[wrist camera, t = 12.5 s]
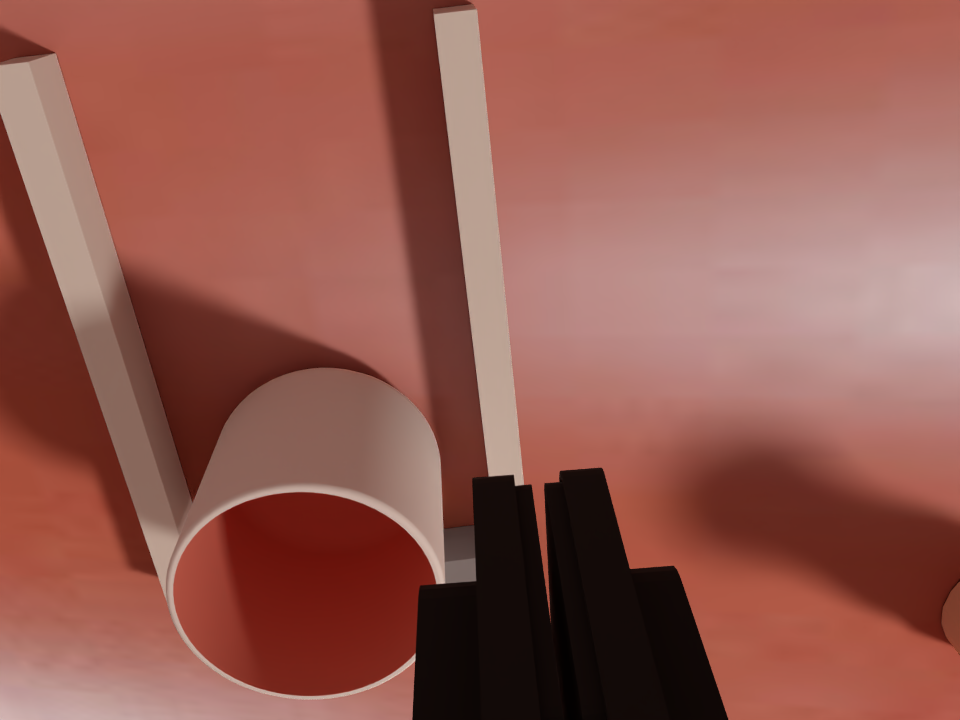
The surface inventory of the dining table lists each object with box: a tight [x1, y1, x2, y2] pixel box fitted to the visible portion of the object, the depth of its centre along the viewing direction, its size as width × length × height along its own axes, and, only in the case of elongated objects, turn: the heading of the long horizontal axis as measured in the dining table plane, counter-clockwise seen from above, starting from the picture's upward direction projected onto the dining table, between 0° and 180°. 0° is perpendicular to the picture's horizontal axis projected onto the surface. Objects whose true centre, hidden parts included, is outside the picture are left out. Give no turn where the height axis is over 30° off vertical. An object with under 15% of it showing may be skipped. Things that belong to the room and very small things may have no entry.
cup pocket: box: [0, 4, 524, 601], centre depth 37 cm, size 25×17×2 cm
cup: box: [166, 368, 445, 699], centre depth 36 cm, size 10×10×10 cm
